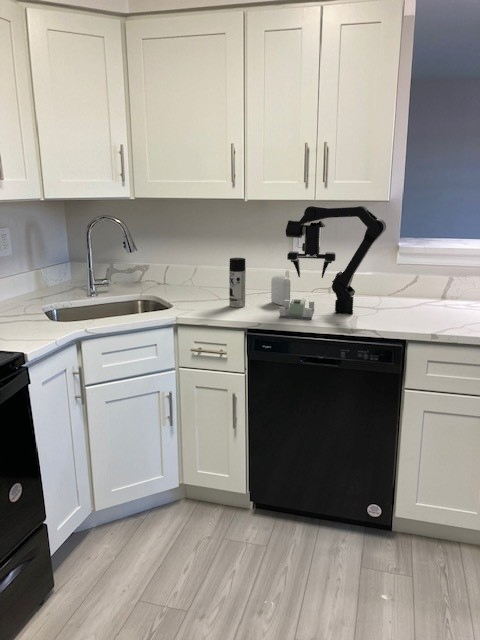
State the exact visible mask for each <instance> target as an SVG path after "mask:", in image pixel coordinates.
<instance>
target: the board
mask: <svg viewBox="0 0 480 640" xmlns="http://www.w3.org/2000/svg"><path fill="white" fill-rule="evenodd" d="M305 308H306V299H297V298H295V299H291V300H290V314H297V315H303V313H304V311H305Z"/></svg>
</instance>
